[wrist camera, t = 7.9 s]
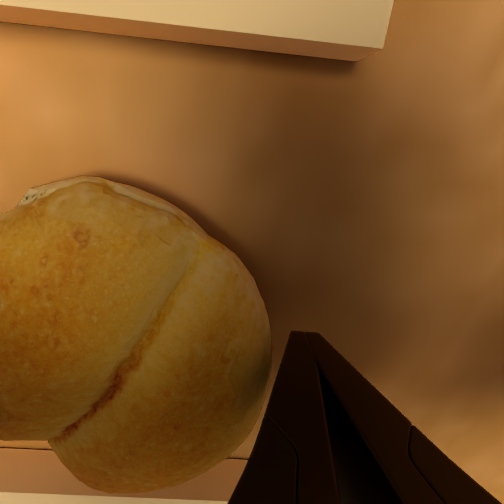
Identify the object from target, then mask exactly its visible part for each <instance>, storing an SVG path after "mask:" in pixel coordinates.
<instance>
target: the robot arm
mask: <svg viewBox="0 0 504 504" xmlns="http://www.w3.org/2000/svg"><path fill="white" fill-rule="evenodd" d="M411 425H412V424H411V422H410V421H409V420H408V419H407V418H406V417H405V416H404V415H403V414H402V413H401V412H400V411H399V410H398V409H397V408H396V407H395V406H393V405H392V404H391V403H390V402H389V401H388V400H387V399H386V398H385V397H384V396H383V395H382V394H381V393H380V392H379V391H378V390H377V389H376V388H375V387H374V386H373V385H372V384H371V383H370V382H369V381H368V380H367V379H366V378H365V377H363V376H362V375H361V374H360V373H359V372H358V371H357V370H356V369H355V368H354V367H353V366H352V365H351V364H350V363H349V362H348V361H347V360H346V359H345V358H344V357H343V356H342V355H341V354H340V353H339V352H338V351H337V350H336V349H335V348H333V347H332V346H331V345H330V344H329V343H328V342H327V341H326V340H325V339H324V338H323V337H322V336H321V335H320V334H319V333H317V332H303V331H291V332H290V335H289V338H288V341H287V344H286V347H285V351H284V354H283V357H282V360H281V363H280V367H279V370H278V373H277V376H276V380H275V383H274V386H273V389H272V392H271V396H270V399H269V402H268V405H267V409H266V412H265V415H264V418H263V421H262V424H261V427H260V430H259V433H258V436H257V439H256V442H255V445H254V447H253V450H252V453H251V455H250V457H249V459H248V462H247V464H246V466H245V468H244V470H243V473H242V475H241V477H240V479H239V481H238V483H237V485H236V487H235V489H234V491H233V493H232V495H231V497H230V499H229V501H228V503H227V504H502V503H500V502H499V501H498V500H497V499H496V498H495V497H493V496H492V495H491V494H490V493H489V492H487V491H486V490H485V489H484V488H483V487H482V486H480V485H479V484H478V483H477V482H476V481H475V480H473V479H472V478H471V477H470V476H469V475H468V474H466V473H465V472H464V471H463V470H462V469H461V468H460V467H458V466H457V465H456V464H455V463H454V462H453V461H452V460H450V459H449V458H448V457H447V456H446V455H445V454H444V453H443V452H442V451H441V450H440V449H439V448H437V447H436V446H435V445H434V444H433V443H432V442H431V441H430V440H429V439H428V438H427V437H426V436H425V435H424V434H423V433H422V432H421V431H420V430H418V429H417V428H416V427H415V426H414V425H412V426H411Z"/></svg>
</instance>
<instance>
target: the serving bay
mask: <svg viewBox="0 0 504 504" xmlns="http://www.w3.org/2000/svg"><path fill="white" fill-rule="evenodd" d="M393 2H394V0H0V21H1V22H9V23H18V24H27V25H36V26H45V27H54V28H63V29H72V30H80V31H89V32H98V33H107V34H116V35H125V36H134V37H143V38H152V39H160V40H169V41H178V42H187V43H196V44H205V45H214V46H223V47H231V48H240V49H249V50H258V51H267V52H276V53H285V54H294V55H302V56H311V57H320V58H329V59H338V60H347V61H356V62H357V61H359V60H361V59H363V58H365V57H367V56H369V55H371V54H373V53H375V52H377V51H379V50H381V49H383V47H384V42H385V38H386V33H387V29H388V24H389V20H390V15H391V11H392V7H393ZM247 462H248V460H241V459H224V460H223V461H221V462H220V463H219V464H217V465H216V466H214V467H213V468H211V469H210V470H208V471H207V472H205V473H204V474H202V475H200V476H197V477H195V478H193V479H191V480H189V481H187V482H185V483H182V484H180V485H177V486H175V487H170V488H165V489H160V490H155V491H150V492H142V493H106V492H102V491H98V490H94V489H91V488H90V487H88V486H87V485H85V484H84V483H82V482H80V481H79V480H78V479H77V478H76V477H75V476H74V475H73V474H72V473H71V472H70V471H69V470H68V469H67V468H66V467H65V466H64V465H63V464H62V463H61V461H60V460H59V458H58V457H57V455H56V454H55V452H54V451H53V450H32V449H11V448H0V504H227V503H228V501H229V499H230V497H231V495H232V493H233V491H234V489H235V487H236V485H237V483H238V481H239V479H240V477H241V475H242V473H243V470H244V468H245V466H246V464H247Z"/></svg>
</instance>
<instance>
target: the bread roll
mask: <svg viewBox="0 0 504 504" xmlns="http://www.w3.org/2000/svg"><path fill="white" fill-rule="evenodd" d="M271 369H272V341H271V331H270V323H269V319H268V314H267V311H266V308H265V302H264V301H263V299H262V298H261V295H260V293H259V291H258V288H257V285H256V283H255V280H254V278H253V277H252V275H250V272H249V270H247V269H246V267H245V266H244V264H243V263H242V261H241V260H240V258H239V257H237V255H236V254H235V253H234V252H232V251H230V250H229V249H228V248H227V247H226V246H224V245H223V244H221V243H220V242H218V241H217V240H215V239H214V238H212V237H210V236H208V234H207V233H206V232H205V231H204V230H203V229H202V228H201V227H200V226H199V225H198V224H197V223H196V222H195V221H194V220H193V219H192V218H191V217H190V216H188V215H187V214H186V213H184V212H183V211H182V210H181V209H179V208H177V207H176V206H174V205H173V204H171V203H169V202H167V201H165V200H163V199H161V198H159V197H157V196H155V195H153V194H151V193H148V192H146V191H143V190H141V189H138V188H136V187H134V186H130V185H126V184H122V183H117V182H114V181H110V180H107V179H103V178H100V177H92V176H78V177H74V178H71V179H67V180H62V181H57V182H52V183H49V184H46V185H41V186H36V187H32V188H29V190H28V192H27V193H26V194H25V195H24V196H23V199H21V201H20V202H19V204H17V206H16V207H15V208H14V209H12V210H10V211H8V212H6V213H4V214H2V215H0V440H4V441H13V440H48V442H49V444H50V446H51V448H52V449H53V451H54V452H55V454H56V455H57V457H58V458H59V460H60V461H61V463H62V464H63V465H64V466H65V467H66V468H67V469H68V470H69V471H70V472H71V473H72V474H73V475H74V476H75V477H76V478H77V479H78V480H79V481H80V482H82V483H84V484H85V485H87V486H88V487H90V488H91V489H94V490H98V491H102V492H106V493H142V492H150V491H155V490H160V489H165V488H170V487H175V486H177V485H180V484H182V483H185V482H187V481H189V480H191V479H193V478H195V477H197V476H200V475H202V474H204V473H205V472H207V471H208V470H210V469H211V468H213V467H214V466H216V465H217V464H219V463H220V462H221V461H223V460H224V459H226V458H227V457H229V456H230V455H231V454H232V453H233V452H234V451H235V450H236V449H237V448H238V447H239V446H240V445H241V444H242V443H243V442H244V440H245V439H246V437H247V436H248V434H249V433H250V432H251V430H252V428H253V426H254V425H255V423H256V420H257V418H258V416H259V414H260V411H261V409H262V406H263V403H264V400H265V397H266V392H267V388H268V385H269V381H270V375H271Z"/></svg>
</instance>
